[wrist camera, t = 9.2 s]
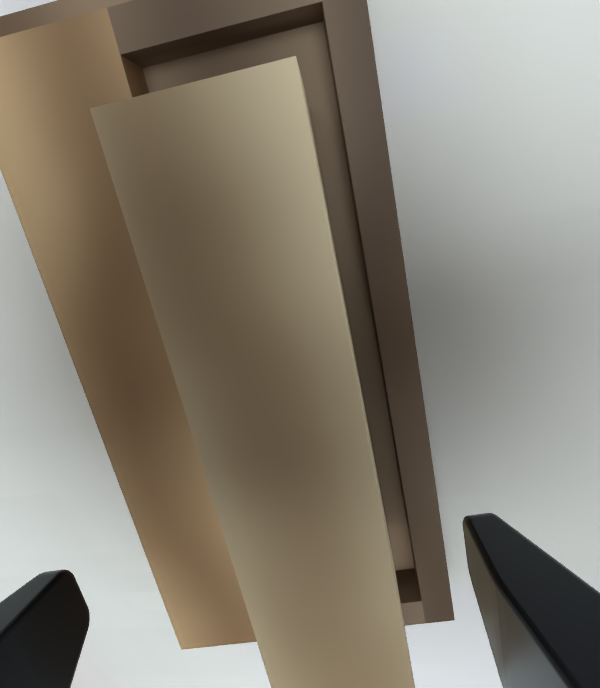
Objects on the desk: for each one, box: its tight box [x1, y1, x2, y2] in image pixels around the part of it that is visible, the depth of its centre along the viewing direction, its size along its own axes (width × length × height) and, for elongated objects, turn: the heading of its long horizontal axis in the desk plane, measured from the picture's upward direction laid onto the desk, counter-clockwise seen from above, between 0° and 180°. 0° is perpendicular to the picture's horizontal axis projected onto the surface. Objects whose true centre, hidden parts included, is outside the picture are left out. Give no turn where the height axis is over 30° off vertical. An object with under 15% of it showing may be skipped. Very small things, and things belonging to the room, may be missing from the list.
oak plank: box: [90, 56, 415, 688], centre depth 13 cm, size 4×14×6 cm, turn 12°
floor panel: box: [0, 0, 454, 650], centre depth 16 cm, size 10×22×2 cm, turn 12°
